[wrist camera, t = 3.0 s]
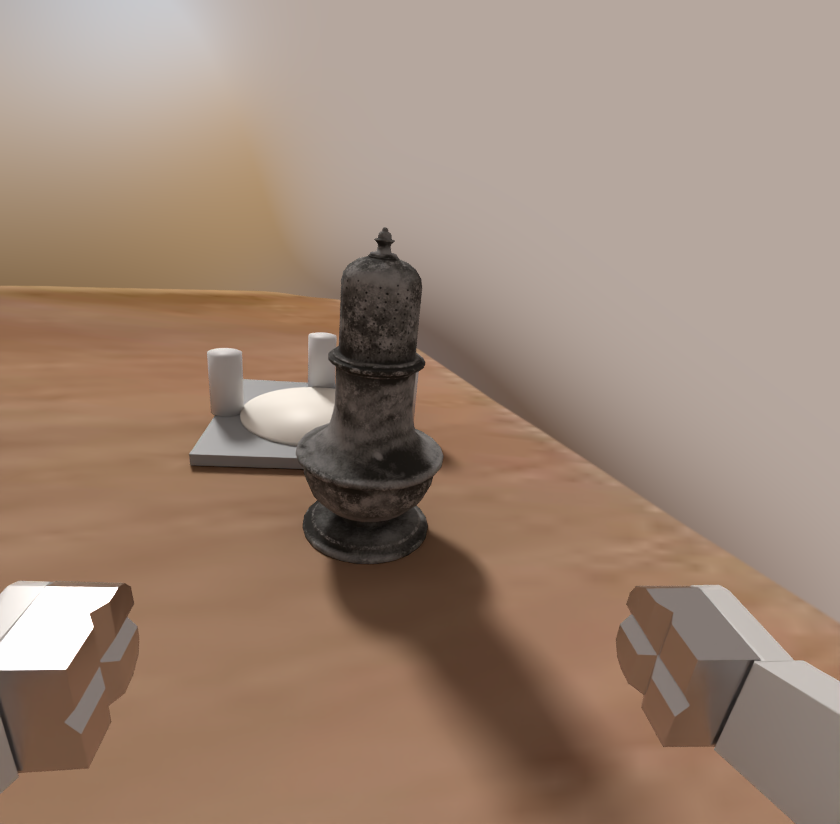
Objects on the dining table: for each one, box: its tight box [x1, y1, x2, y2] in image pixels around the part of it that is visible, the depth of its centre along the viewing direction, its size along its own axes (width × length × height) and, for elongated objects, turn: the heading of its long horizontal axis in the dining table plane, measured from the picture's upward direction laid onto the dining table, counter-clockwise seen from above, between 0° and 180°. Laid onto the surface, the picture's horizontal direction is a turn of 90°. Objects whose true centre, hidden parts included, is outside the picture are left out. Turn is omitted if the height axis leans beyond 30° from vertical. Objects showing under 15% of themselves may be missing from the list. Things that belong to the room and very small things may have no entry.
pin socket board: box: [189, 333, 419, 469], centre depth 30 cm, size 12×11×4 cm
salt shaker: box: [296, 228, 443, 564], centre depth 20 cm, size 6×6×12 cm
